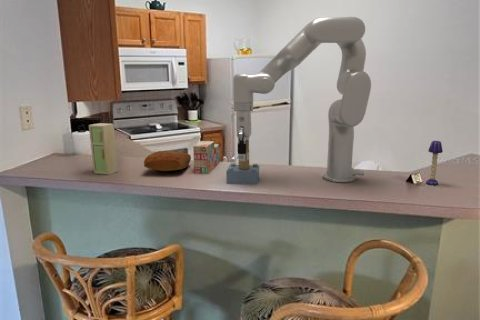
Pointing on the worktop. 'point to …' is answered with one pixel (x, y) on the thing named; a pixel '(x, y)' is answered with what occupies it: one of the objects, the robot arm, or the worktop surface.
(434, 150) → the toy lamp
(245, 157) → the sprinkles bottle
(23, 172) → the worktop surface
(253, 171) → the base brick
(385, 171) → the worktop surface
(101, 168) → the toy refrigerator
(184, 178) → the worktop surface
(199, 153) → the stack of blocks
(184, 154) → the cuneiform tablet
